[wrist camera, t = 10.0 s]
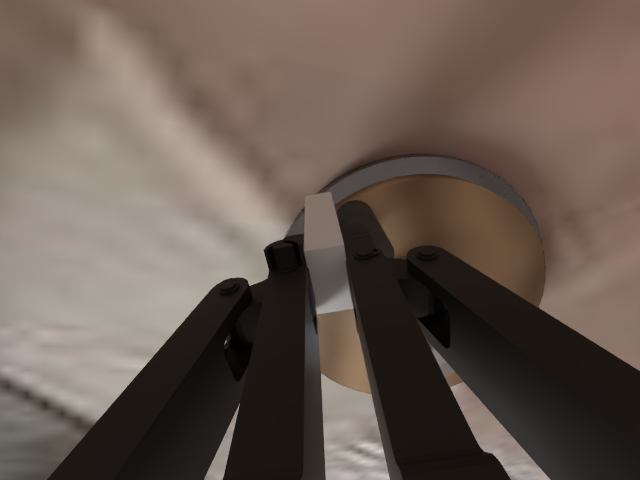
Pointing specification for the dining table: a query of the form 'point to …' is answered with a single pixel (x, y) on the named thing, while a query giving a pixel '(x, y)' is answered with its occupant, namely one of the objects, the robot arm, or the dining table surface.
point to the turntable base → (417, 166)
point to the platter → (437, 230)
